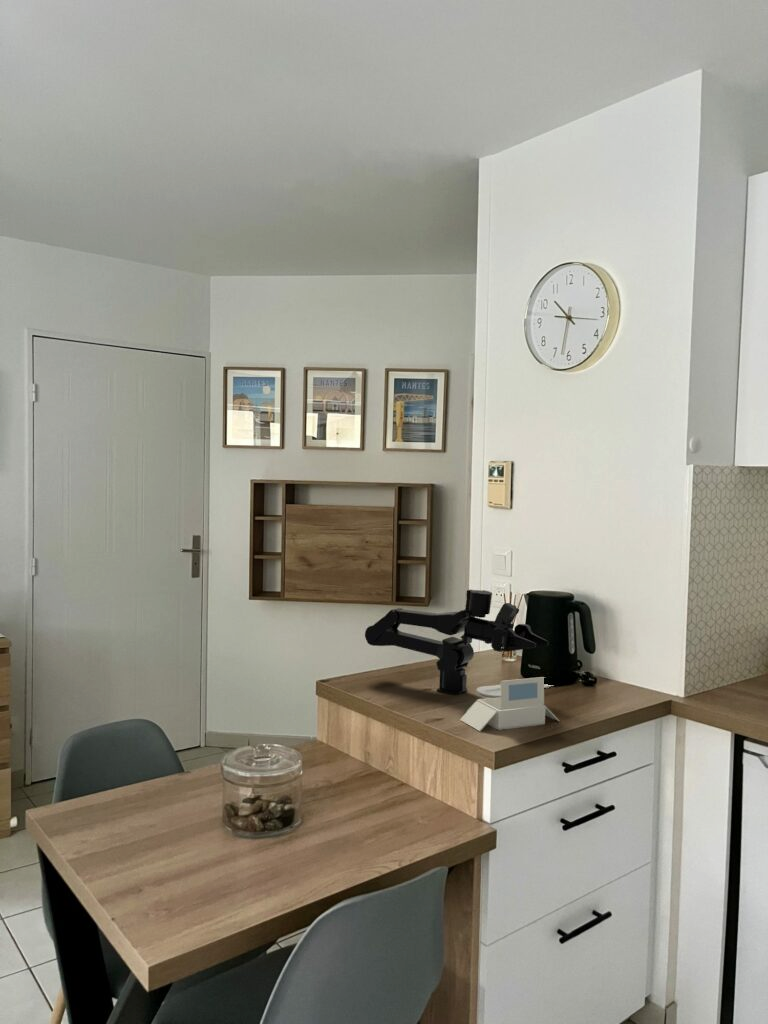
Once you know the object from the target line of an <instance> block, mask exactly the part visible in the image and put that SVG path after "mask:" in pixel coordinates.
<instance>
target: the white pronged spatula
mask: <svg viewBox="0 0 768 1024" xmlns="http://www.w3.org/2000/svg"><path fill="white" fill-rule="evenodd" d="M551 686H554V685H548V684H544V688H546V689H549V687H551ZM551 688H552V687H551ZM476 694H478V695H481V696H484V697H487V698H497V697H501V683H499V684H496V685H495V684H494V685H483V686H479V687H477V688H476Z"/></svg>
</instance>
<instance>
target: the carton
mask: <svg viewBox="0 0 768 1024" xmlns="http://www.w3.org/2000/svg"><path fill="white" fill-rule="evenodd" d="M476 701H478V702H480V703H482V704H483V705H485V706H487V707H489V708H491V709H493V710H495V711H497V713H496V714H495V715H494V716H493V717H492V719H491V720H490V721H489V722H488V723H487V724H486V725H488V726H490V727H491V728H494V729H495V730H497V729H498V730H497V731H503V729H505V730H511V729H519V728H521V729H522V728H528V727H529V728H530V727H536V726H542V725H543V726H545V724H546V715H545V707H547V706H546V705H545V704H544V705H536V706H527V707H518V708H509V709H501V697H487V698H479V699H478V698H477V699H476Z"/></svg>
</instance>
